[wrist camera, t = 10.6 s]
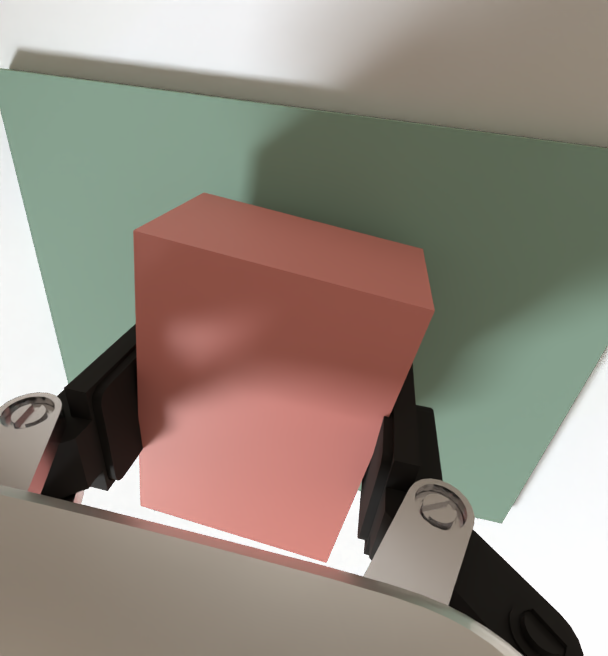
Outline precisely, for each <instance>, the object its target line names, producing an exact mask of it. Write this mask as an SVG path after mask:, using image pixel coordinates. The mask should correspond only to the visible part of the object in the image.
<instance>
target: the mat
mask: <svg viewBox="0 0 608 656" xmlns="http://www.w3.org/2000/svg"><path fill="white" fill-rule="evenodd" d="M0 110H1V114H2V118H3V122H4V126H5V130H6V134H7V138H8V142H9V146H10V151H11V155H12V159H13V163H14V167H15V171H16V175H17V179H18V183H19V187H20V191H21V195H22V199H23V203H24V207H25V211H26V215H27V219H28V223H29V227H30V231H31V235H32V239H33V243H34V247H35V251H36V255H37V259H38V263H39V267H40V271H41V275H42V279H43V283H44V287H45V291H46V295H47V299H48V303H49V308H50V312H51V316H52V320H53V324H54V328H55V332H56V336H57V340H58V344H59V348H60V352H61V356H62V360H63V364H64V368H65V372H66V376H67V380H68V384H69V383H70V382H71V381H72V380H73V379H75V378H76V377H77V376H78V375H79V374H80V373H81V372H82V371H83V370H85V369H86V368H87V367H88V366H89V365H90V364H91V363H92V362H93V361H95V360H96V359H97V358H98V357H99V356H100V355H101V354H102V353H104V352H105V351H106V350H107V349H108V348H109V347H110V346H111V345H112V344H114V343H115V342H116V341H117V340H118V339H119V338H120V337H121V336H122V335H124V334H125V333H126V332H127V331H128V330H129V329H130V328H131V327H132V326H134V325H135V324H136V316H135V279H134V242H133V230H135V229H137V228H139V227H140V226H142V225H144V224H146V223H148V222H150V221H152V220H154V219H155V218H157V217H159V216H161V215H163V214H165V213H167V212H168V211H170V210H172V209H174V208H176V207H178V206H180V205H182V204H183V203H185V202H187V201H189V200H191V199H193V198H195V197H196V196H198V195H200V194H202V193H208V194H212V195H216V196H220V197H224V198H227V199H231V200H235V201H239V202H243V203H247V204H251V205H255V206H258V207H262V208H266V209H270V210H274V211H278V212H282V213H286V214H289V215H293V216H297V217H301V218H305V219H309V220H313V221H317V222H320V223H324V224H328V225H332V226H336V227H340V228H344V229H348V230H351V231H355V232H359V233H363V234H367V235H371V236H375V237H379V238H382V239H386V240H390V241H394V242H398V243H402V244H406V245H409V246H413V247H417V248H421V249H423V252H424V257H425V263H426V268H427V273H428V278H429V283H430V288H431V294H432V299H433V304H434V309H435V312H434V314H433V316H432V318H431V321H430V323H429V325H428V328H427V330H426V332H425V335H424V337H423V339H422V342H421V344H420V346H419V349H418V351H417V353H416V356H415V358H414V360H413V374H414V387H415V401H416V405H420V406H425V407H430V408H432V409H433V411H434V417H435V424H436V432H437V440H438V447H439V455H440V463H441V471H442V478H443V481H444V482H446V483H449V484H451V485H452V486H454V487H455V488H456V489H458V490H459V491H460V492H461V493H462V494H463V495H464V496H465V497H466V498H467V499H468V501H469V503H470V504H471V506H472V508H473V512H474V516H475V517H476V518H480V519H485V520H489V521H493V522H498V523H502V522H503V520H504V519H505V517H506V515H507V514H508V512H509V510H510V509H511V507H512V505H513V504H514V502H515V500H516V499H517V497H518V495H519V494H520V492H521V490H522V488H523V487H524V485H525V483H526V482H527V480H528V478H529V477H530V475H531V473H532V472H533V470H534V468H535V467H536V465H537V463H538V462H539V460H540V458H541V457H542V455H543V453H544V451H545V450H546V448H547V446H548V445H549V443H550V441H551V440H552V438H553V436H554V435H555V433H556V431H557V430H558V428H559V426H560V425H561V423H562V421H563V420H564V418H565V416H566V414H567V413H568V411H569V409H570V408H571V406H572V404H573V403H574V401H575V399H576V398H577V396H578V394H579V393H580V391H581V389H582V388H583V386H584V384H585V383H586V381H587V379H588V377H589V376H590V374H591V372H592V371H593V369H594V367H595V366H596V364H597V362H598V361H599V359H600V357H601V356H602V354H603V352H604V351H605V349H606V347H607V346H608V148H603V147H596V146H588V145H581V144H573V143H565V142H558V141H550V140H543V139H535V138H527V137H520V136H512V135H505V134H497V133H489V132H482V131H474V130H467V129H459V128H452V127H444V126H436V125H429V124H421V123H414V122H406V121H398V120H391V119H383V118H376V117H368V116H360V115H353V114H345V113H338V112H330V111H322V110H315V109H307V108H300V107H292V106H285V105H277V104H269V103H262V102H254V101H247V100H239V99H231V98H224V97H216V96H209V95H201V94H193V93H186V92H178V91H171V90H163V89H156V88H148V87H140V86H133V85H125V84H118V83H110V82H102V81H95V80H87V79H80V78H72V77H64V76H57V75H49V74H42V73H34V72H26V71H19V70H11V69H0ZM361 486H362V481H361V483H360V486H359V488H358V490H359V491H361Z"/></svg>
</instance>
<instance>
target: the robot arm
mask: <svg viewBox="0 0 608 656" xmlns="http://www.w3.org/2000/svg"><path fill="white" fill-rule="evenodd" d="M142 449H143V446H142V439H141V432H140V425H139V418H138V390H137V353H136V324H135V325H134V326H132V327H131V328H130V329H129V330H128V331H127V332H126V333H125V334H124V335H122V336H121V337H120V338H119V339H118V340H117V341H116V342H115V343H114V344H112V345H111V346H110V347H109V348H108V349H107V350H106V351H105V352H104V353H102V354H101V355H100V356H99V357H98V358H97V359H96V360H95V361H93V362H92V363H91V364H90V365H89V366H88V367H87V368H86V369H85V370H83V371H82V372H81V373H80V374H79V375H78V376H77V377H76V378H75V379H73V380H72V381H71V382H70V383H69V384H68V385H67V386H66V387H65V388H64V390H63V391H62V392H61V393H60V394H59V395H58V396H55V395H53V394H50V393H40V392H37V393H30V394H25V395H22V396H19V397H16V398H14V399H12V400H10V401H8V402H6V403H5V404H4V405H2V406H1V407H0V656H583V652H582V649H581V646H580V643H579V640H578V638H577V637H576V635H575V633H574V631H573V630H572V628H571V626H570V625H569V624H568V623H567V622H566V620H565V619H564V618H563V617H562V616H561V615H560V614H559V613H558V612H557V611H556V610H555V609H554V608H553V607H552V606H551V605H550V604H549V603H548V602H547V601H546V600H545V599H544V598H543V597H542V596H541V595H540V594H539V593H538V592H537V591H536V590H535V589H534V588H533V587H532V586H531V585H530V584H529V583H528V582H527V581H525V580H524V579H523V578H522V577H521V576H520V575H519V574H518V573H517V572H516V571H515V570H514V569H513V568H512V567H511V566H510V565H509V564H508V563H507V562H506V561H505V560H504V559H503V558H502V557H501V556H500V555H499V554H498V553H497V552H496V551H495V550H494V549H492V548H491V547H490V546H489V545H488V544H487V543H486V542H485V541H484V540H483V539H482V538H481V537H480V536H479V535H478V534H477V533H476V532H475V531H474V530H473V526H474V519H475V516H474V512H473V508H472V506H471V504H470V503H469V501H468V499H467V498H466V497H465V496H464V495H463V494H462V493H461V492H460V491H459V490H458V489H456V488H455V487H454V486H452V485H451V484H449V483H446V482H444V481H443V478H442V471H441V463H440V455H439V447H438V440H437V432H436V424H435V417H434V411H433V409H432V408H430V407H425V406H420V405H416V401H415V387H414V374H413V363H412V365H411V367H410V370H409V372H408V374H407V377H406V379H405V381H404V384H403V386H402V388H401V391H400V393H399V395H398V397H397V400H396V402H395V404H394V407H393V409H392V411H391V414H390V416H389V417H386V416H384V417H383V421H382V424H381V428H380V432H379V435H378V439H377V442H376V446H375V449H374V453H373V456H372V458H371V460H370V463H369V465H368V467H367V469H366V472H365V474H364V476H363V479H362V486H361V498H360V511H359V523H358V538H359V539H363V540H365V546H364V554H367V555H369V558H370V559H371V560H372V561H371V563H370V565H369V567H368V569H367V571H366V572H365V574H364V576H359V575H355V574H352V573H348V572H344V571H341V570H337V569H334V568H330V567H326V566H323V565H319V564H315V563H311V562H307V561H303V560H300V559H296V558H292V557H288V556H284V555H280V554H276V553H272V552H268V551H264V550H261V549H257V548H253V547H249V546H245V545H241V544H237V543H233V542H229V541H226V540H222V539H218V538H214V537H210V536H206V535H202V534H198V533H194V532H190V531H186V530H182V529H178V528H174V527H170V526H166V525H162V524H158V523H154V522H150V521H146V520H142V519H138V518H134V517H130V516H126V515H122V514H118V513H114V512H110V511H106V510H102V509H98V508H94V507H90V506H86V505H82V504H81V502H82V498H83V495H84V490H85V489H88V488H89V487H94V488H98V489H102V490H106V491H108V490H109V488H110V487H111V486H112V484H113V483H114V481H115V480H120V479H122V478H123V476H124V475H125V474H126V472H127V471H128V469H129V468H130V467H131V465H132V464H133V462H134V461H135V459H136V458H137V457H138V455H139V454H140V452H141V451H142Z"/></svg>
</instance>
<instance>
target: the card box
mask: <svg viewBox="0 0 608 656" xmlns="http://www.w3.org/2000/svg"><path fill="white" fill-rule="evenodd" d="M133 242H134V279H135V316H136V353H137V390H138V418H139V425H140V432H141V439H142V446H143V449H142V451H141V452H140V454H139V465H140V502H141V506H143V507H146V508H150V509H153V510H156V511H160V512H163V513H166V514H169V515H173V516H176V517H179V518H182V519H186V520H189V521H192V522H195V523H199V524H202V525H205V526H208V527H212V528H215V529H218V530H221V531H225V532H228V533H231V534H235V535H238V536H241V537H244V538H248V539H251V540H254V541H257V542H261V543H264V544H267V545H270V546H274V547H277V548H280V549H283V550H287V551H290V552H293V553H296V554H300V555H303V556H306V557H310V558H313V559H316V560H319V561H323V562H327V560H328V558H329V555H330V553H331V551H332V548H333V546H334V544H335V542H336V539H337V537H338V535H339V532H340V530H341V528H342V525H343V523H344V521H345V518H346V516H347V514H348V511H349V509H350V507H351V504H352V502H353V500H354V497H355V495H356V493H357V490H358V488H359V486H360V483H361V481H362V479H363V476H364V474H365V472H366V469H367V467H368V465H369V463H370V460H371V458H372V456H373V453H374V449H375V446H376V442H377V439H378V435H379V432H380V428H381V424H382V421H383V417H384V416H386V417H389V416H390V414H391V411H392V409H393V407H394V404H395V402H396V400H397V397H398V395H399V393H400V391H401V388H402V386H403V384H404V381H405V379H406V377H407V374H408V372H409V370H410V367H411V365H412V363H413V360H414V358H415V356H416V353H417V351H418V349H419V346H420V344H421V342H422V339H423V337H424V335H425V332H426V330H427V328H428V325H429V323H430V321H431V318H432V316H433V314H434V312H435V309H434V304H433V299H432V294H431V288H430V283H429V278H428V273H427V268H426V263H425V257H424V252H423V249H421V248H417V247H413V246H409V245H406V244H402V243H398V242H394V241H390V240H386V239H382V238H379V237H375V236H371V235H367V234H363V233H359V232H355V231H351V230H348V229H344V228H340V227H336V226H332V225H328V224H324V223H320V222H317V221H313V220H309V219H305V218H301V217H297V216H293V215H289V214H286V213H282V212H278V211H274V210H270V209H266V208H262V207H258V206H255V205H251V204H247V203H243V202H239V201H235V200H231V199H227V198H224V197H220V196H216V195H212V194H208V193H202V194H200V195H198V196H196V197H195V198H193V199H191V200H189V201H187V202H185V203H183V204H182V205H180V206H178V207H176V208H174V209H172V210H170V211H168V212H167V213H165V214H163V215H161V216H159V217H157V218H155V219H154V220H152V221H150V222H148V223H146V224H144V225H142V226H140V227H139V228H137V229H135V230H133Z"/></svg>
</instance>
